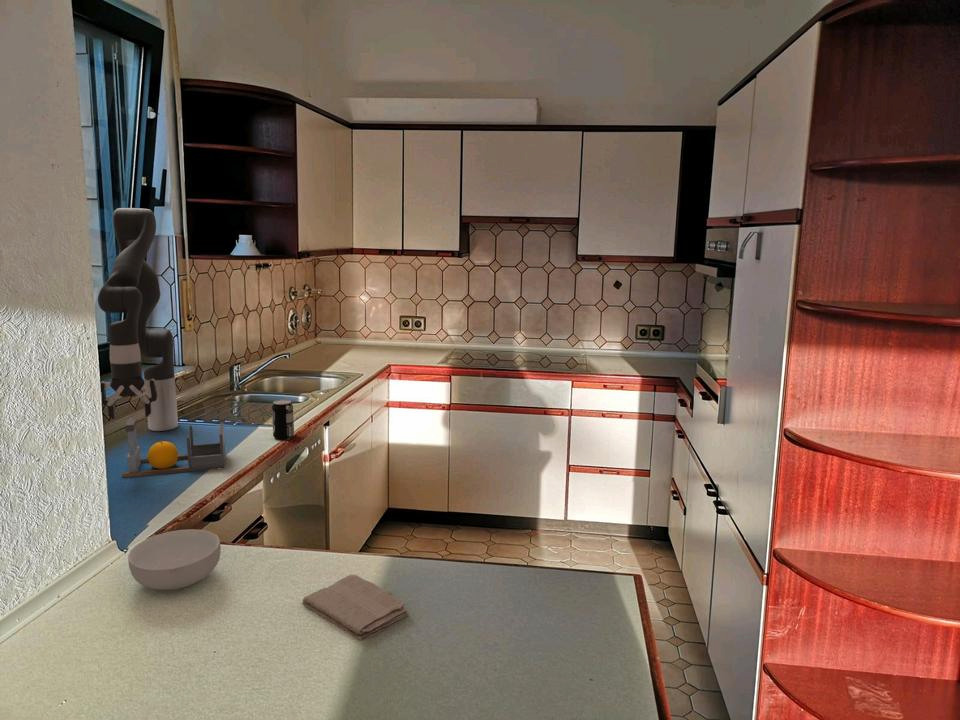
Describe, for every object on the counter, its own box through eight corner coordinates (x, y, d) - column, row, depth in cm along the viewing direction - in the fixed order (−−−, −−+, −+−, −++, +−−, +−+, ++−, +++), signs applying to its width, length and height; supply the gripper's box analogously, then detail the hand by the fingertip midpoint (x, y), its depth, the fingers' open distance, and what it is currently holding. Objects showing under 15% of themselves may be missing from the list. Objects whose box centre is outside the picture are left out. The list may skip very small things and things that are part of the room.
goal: (191, 457, 212) (189, 425, 210) (225, 454, 215) (223, 422, 213) (188, 471, 200) (186, 437, 199) (224, 468, 203) (222, 434, 201)
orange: (167, 472, 199) (165, 447, 198) (142, 470, 201) (140, 445, 199) (184, 463, 207) (183, 438, 206) (160, 461, 209) (158, 436, 207)
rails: (128, 463, 206) (128, 459, 206) (191, 457, 212) (191, 454, 211) (121, 477, 195) (121, 474, 195) (188, 471, 200) (188, 468, 200)
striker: (133, 463, 206) (129, 417, 203) (140, 462, 206) (137, 417, 203) (128, 474, 197) (124, 426, 194) (136, 473, 198) (132, 426, 195)
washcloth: (362, 645, 122) (362, 629, 121) (299, 608, 133) (298, 592, 132) (412, 617, 130) (412, 601, 130) (349, 584, 142) (349, 569, 141)
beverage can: (271, 435, 233) (269, 400, 231) (291, 433, 236) (290, 398, 234) (275, 441, 228) (273, 405, 225) (296, 438, 231) (294, 402, 228)
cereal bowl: (150, 560, 149) (147, 529, 148) (232, 559, 150) (230, 527, 149) (115, 604, 133) (112, 568, 131) (207, 602, 134) (205, 567, 132)
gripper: (155, 356, 201) (159, 412, 204) (99, 358, 197) (104, 415, 200) (152, 361, 194) (157, 419, 197) (93, 363, 190) (99, 422, 193)
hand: (130, 417), depth 199 cm, fingers open, 8 cm apart
